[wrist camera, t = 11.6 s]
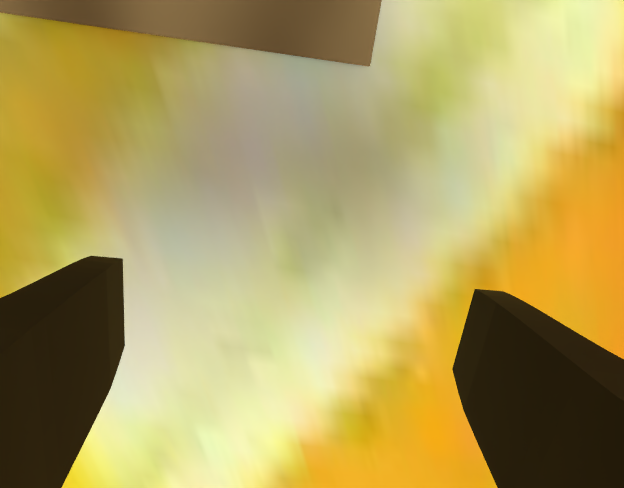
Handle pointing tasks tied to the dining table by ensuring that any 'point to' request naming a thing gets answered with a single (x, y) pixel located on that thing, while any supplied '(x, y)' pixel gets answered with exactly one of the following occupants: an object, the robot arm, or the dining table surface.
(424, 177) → the dining table surface
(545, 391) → the robot arm
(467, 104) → the dining table surface
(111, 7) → the square peg socket base
